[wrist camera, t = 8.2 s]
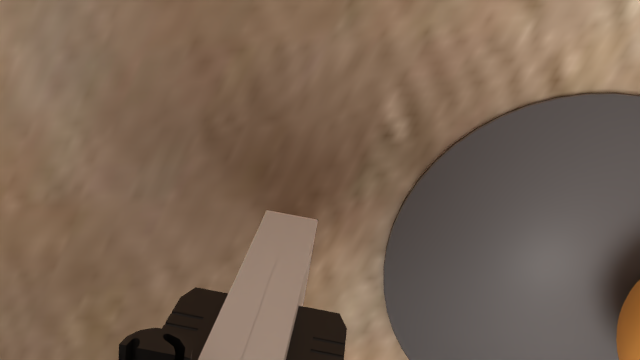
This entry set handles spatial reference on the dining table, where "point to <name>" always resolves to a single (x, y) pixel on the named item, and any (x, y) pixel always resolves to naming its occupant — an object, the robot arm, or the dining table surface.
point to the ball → (629, 326)
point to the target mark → (522, 237)
